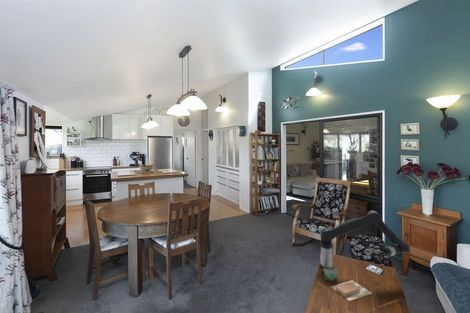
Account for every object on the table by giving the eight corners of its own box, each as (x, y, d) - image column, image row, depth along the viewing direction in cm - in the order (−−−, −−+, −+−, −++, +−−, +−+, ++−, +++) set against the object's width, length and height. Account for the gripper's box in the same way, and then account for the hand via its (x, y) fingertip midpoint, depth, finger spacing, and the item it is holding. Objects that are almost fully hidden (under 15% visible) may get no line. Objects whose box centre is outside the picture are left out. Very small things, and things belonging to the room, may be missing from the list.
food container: (327, 284, 190) (327, 271, 189) (323, 279, 196) (323, 267, 195) (341, 282, 192) (341, 269, 191) (336, 277, 198) (336, 266, 197)
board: (330, 288, 184) (330, 286, 184) (352, 281, 192) (352, 280, 192) (349, 302, 168) (349, 300, 167) (372, 294, 175) (372, 293, 175)
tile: (349, 285, 185) (335, 289, 180) (349, 282, 185) (335, 286, 180) (359, 292, 177) (344, 296, 172) (359, 288, 177) (345, 293, 172)
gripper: (379, 243, 198) (364, 246, 192) (395, 250, 185) (379, 254, 179) (379, 252, 198) (363, 256, 192) (395, 259, 186) (379, 263, 180)
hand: (371, 255), depth 186 cm, fingers closed
